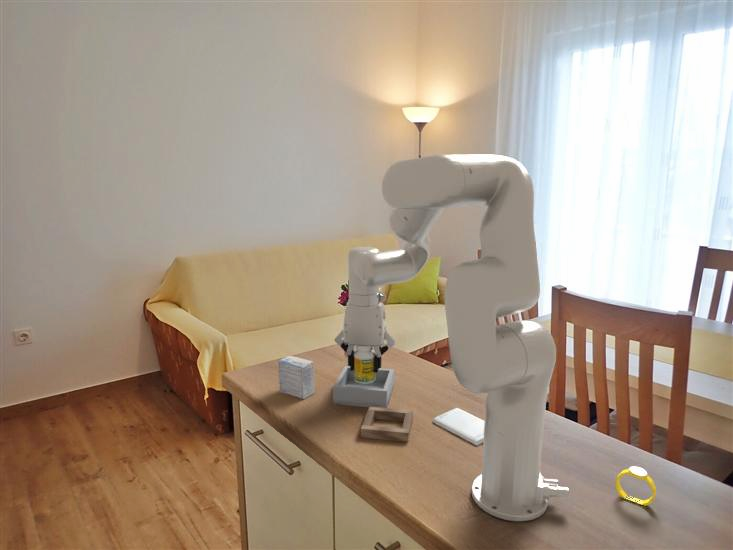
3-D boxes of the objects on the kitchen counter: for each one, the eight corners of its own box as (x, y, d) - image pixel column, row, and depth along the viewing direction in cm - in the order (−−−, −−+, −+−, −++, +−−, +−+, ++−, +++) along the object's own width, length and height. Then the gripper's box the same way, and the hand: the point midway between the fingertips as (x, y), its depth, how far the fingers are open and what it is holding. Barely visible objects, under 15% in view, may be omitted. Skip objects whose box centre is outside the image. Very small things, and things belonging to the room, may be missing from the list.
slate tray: (394, 385, 133) (394, 369, 132) (386, 408, 121) (386, 391, 120) (345, 381, 135) (345, 365, 134) (333, 404, 123) (332, 386, 122)
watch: (653, 505, 87) (660, 475, 86) (650, 513, 85) (657, 483, 84) (616, 489, 91) (622, 460, 89) (612, 497, 89) (618, 467, 87)
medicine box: (314, 393, 129) (314, 361, 127) (303, 400, 125) (302, 367, 123) (290, 386, 133) (289, 354, 131) (279, 392, 129) (277, 360, 127)
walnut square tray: (412, 418, 116) (413, 410, 116) (408, 441, 106) (408, 432, 106) (369, 414, 118) (369, 406, 117) (361, 437, 108) (361, 428, 108)
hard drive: (433, 418, 114) (477, 440, 105) (457, 407, 119) (501, 427, 110) (432, 424, 115) (476, 448, 105) (457, 413, 120) (501, 434, 110)
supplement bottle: (367, 374, 131) (367, 338, 129) (379, 381, 126) (380, 344, 124) (349, 378, 128) (349, 342, 126) (361, 386, 124) (361, 349, 121)
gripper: (401, 296, 125) (401, 366, 129) (333, 293, 128) (334, 361, 132) (398, 304, 117) (397, 378, 121) (325, 301, 120) (327, 373, 124)
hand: (364, 368), depth 126 cm, fingers closed on supplement bottle, 5 cm apart
